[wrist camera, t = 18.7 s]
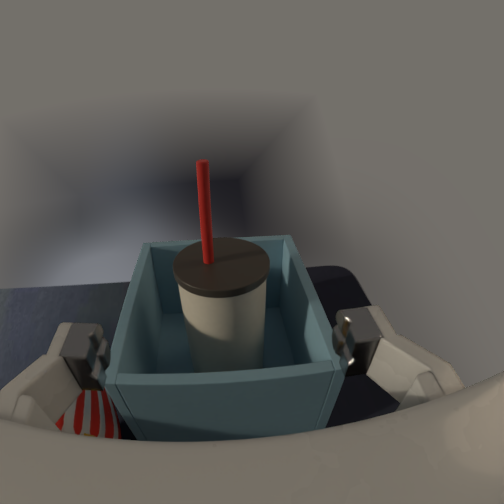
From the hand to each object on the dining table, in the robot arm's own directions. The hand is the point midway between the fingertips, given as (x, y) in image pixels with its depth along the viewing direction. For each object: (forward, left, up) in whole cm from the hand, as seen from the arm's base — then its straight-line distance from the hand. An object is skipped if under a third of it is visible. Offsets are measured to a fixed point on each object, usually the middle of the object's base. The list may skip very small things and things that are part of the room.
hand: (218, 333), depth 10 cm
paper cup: (0, -10, -14) cm, 17 cm away
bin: (0, -10, -15) cm, 18 cm away
